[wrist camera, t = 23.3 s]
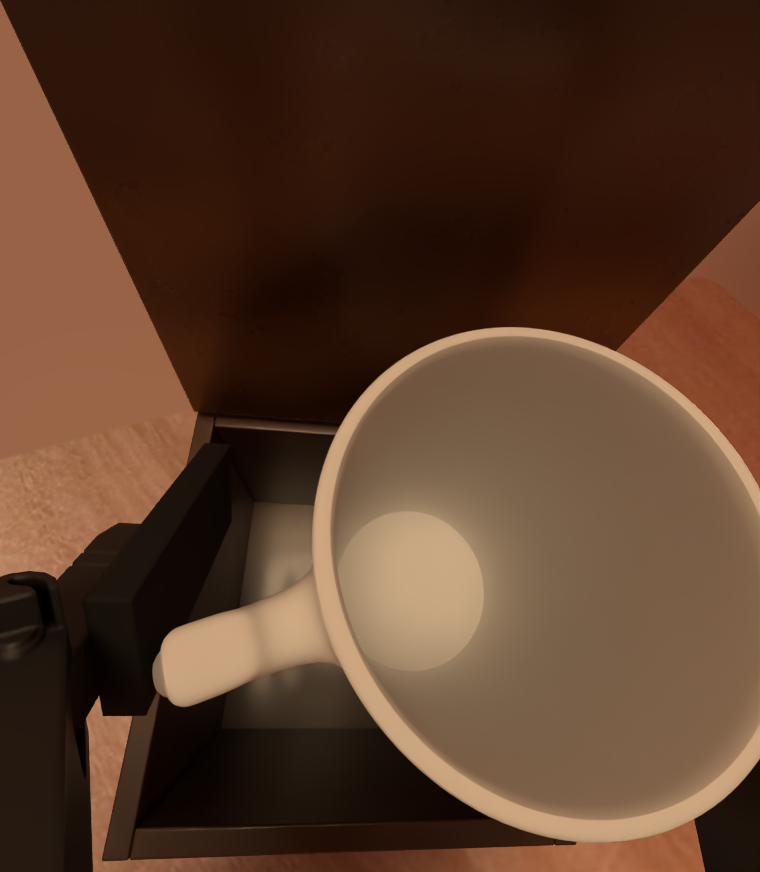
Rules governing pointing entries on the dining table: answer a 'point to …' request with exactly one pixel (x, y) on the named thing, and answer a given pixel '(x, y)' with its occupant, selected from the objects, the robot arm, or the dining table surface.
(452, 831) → the chest
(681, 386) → the dining table surface
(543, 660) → the mug
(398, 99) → the lid
